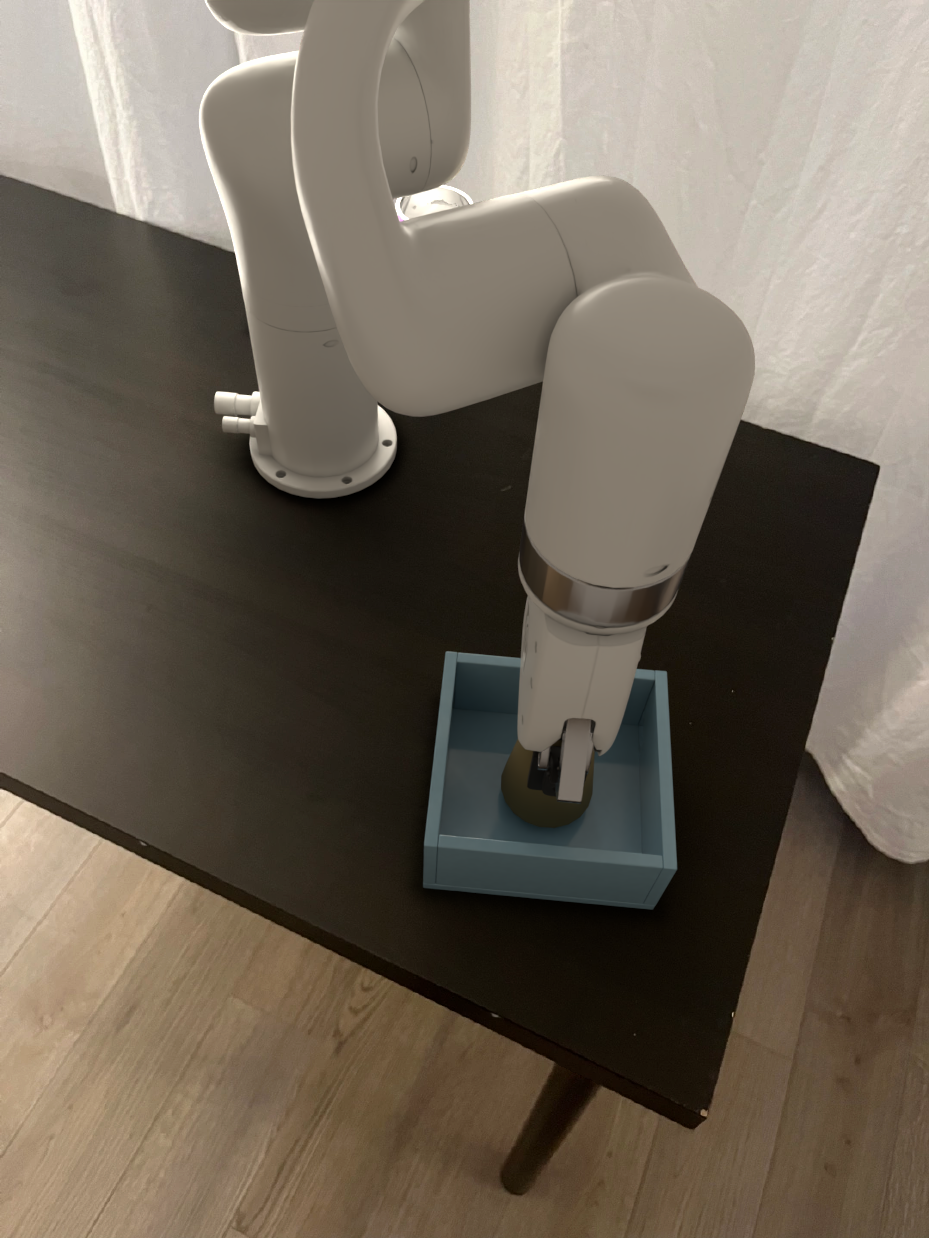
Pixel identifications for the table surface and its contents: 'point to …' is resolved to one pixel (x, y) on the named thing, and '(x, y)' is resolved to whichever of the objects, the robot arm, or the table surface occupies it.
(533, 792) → the tan pawn
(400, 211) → the beer glass
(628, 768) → the blue open box
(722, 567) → the table surface
